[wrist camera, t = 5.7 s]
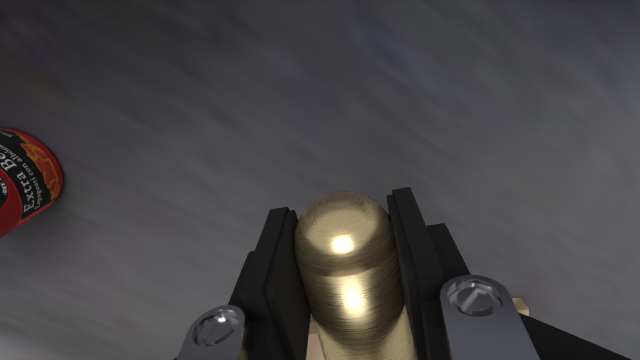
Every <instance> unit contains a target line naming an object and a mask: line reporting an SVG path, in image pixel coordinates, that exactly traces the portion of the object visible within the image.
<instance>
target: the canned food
mask: <svg viewBox="0 0 640 360" xmlns="http://www.w3.org/2000/svg"><path fill="white" fill-rule="evenodd" d="M62 185H63V175H62V171H61V168H60V166H59V164H58V162H57V160H56V158H55V157H54V156H53V154H52V153H51V152H50V151H49V150H48V149H47V148H46V147H45V146H44V145H43V144H42V143H40V142H39V141H38V140H37V139H35V138H33V137H31V136H29V135H28V134H25V133H22V132H20V131H16V130H12V129H0V238H1V237H3V236H4V235H6V234H7V233H9V232H10V231H12V230H13V229H15V228H16V227H18V226H20V225H21V224H23V223H24V222H26V221H27V220H29V219H30V218H32V217H33V216H35V215H37V214H38V213H40V212H41V211H43V210H44V209H46V208H47V207H49V206H50V205H51V204H52V203H53V202H54V201H55V200H56V198H57V197H58V195H59V194H60V192H61V190H62Z"/></svg>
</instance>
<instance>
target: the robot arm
mask: <svg viewBox="0 0 640 360" xmlns="http://www.w3.org/2000/svg"><path fill="white" fill-rule="evenodd" d="M392 192H393V194H392V195H386V196H387V203H388V210H389V217H390V218H391V221H392V225H393V230H394V236H395V242H396V248H397V255H398V261H399V268H400V275H401V282H402V289H403V295H404V302H405V306H406V311H407V315H408V320H409V324H410V329H411V333H412V338H413V343H414V347H415V352H416V356H417V360H631V359H629V358H626V357H624V356H622V355H619V354H617V353H614V352H612V351H610V350H607V349H605V348H603V347H600V346H598V345H596V344H593V343H591V342H588V341H586V340H584V339H581V338H579V337H577V336H574V335H572V334H569V333H567V332H565V331H562V330H560V329H558V328H555V327H553V326H550V325H548V324H546V323H543V322H541V321H539V320H536V319H534V318H531V317H529V316H527V315H524V314H522V313H520V312H518V311H517V309H516V307H515V304H514V302H513V300H512V298H511V296H510V294H509V293H508V291H507V290H506V289H505V287H503V286H502V285H501V284H499V283H498V282H496V281H494V280H492V279H490V278H487V277H483V276H478V275H471V274H470V272H469V270H468V268H467V266H466V264H465V262H464V260H463V258H462V256H461V254H460V252H459V250H458V248H457V246H456V244H455V242H454V240H453V238H452V236H451V235H450V233H449V231H448V229H447V227H446V225H445V224H444V223H443V224H436V225H429V226H426V225H425V223H424V220H423V218H422V215H421V213H420V210H419V208H418V206H417V203H416V201H415V198H414V196H413V193H412V191H411V188H410V187H408V188H401V189H395V190H392ZM297 224H298V219H297V215H296V212H295V211H294V210H292V211H290V210H289V208H288V207H283V208H277V209H271V210H270V212H269V215H268V217H267V220H266V223H265V225H264V228H263V231H262V233H261V236H260V239H259V241H258V244H257V247H256V249H255V251H251V252H249V254H248V256H247V258H246V261H245V263H244V266H243V268H242V271H241V273H240V276H239V278H238V281H237V283H236V286H235V288H234V291H233V293H232V296H231V298H230V301H229V303H228V305H223V306H219V307H216V308H213V309H211V310H209V311H207V312H205V313H204V314H202V315H201V316H200V317H198V318H197V319H196V320H195V321H194V323H193V324H192V325H191V326H190V328H189V330H188V332H187V334H186V336H185V339H184V341H183V344H182V346H181V349H180V352H179V354H178V357H177V358H175V359H174V360H306V356H307V346H308V337H309V327H310V318H311V309H310V306H309V302H308V299H307V295H306V292H305V288H304V285H303V281H302V278H301V274H300V271H299V267H298V264H297V261H296V255H295V250H294V234H295V230H296V227H297Z"/></svg>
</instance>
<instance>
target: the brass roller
mask: <svg viewBox="0 0 640 360" xmlns="http://www.w3.org/2000/svg"><path fill="white" fill-rule="evenodd" d="M294 250H295V255H296V261H297V264H298V267H299V271H300V274H301V278H302V281H303V285H304V288H305V292H306V295H307V299H308V302H309V306H310V309H311V313H312V317H313V320H314V324H315V327H316V331H317V334H318V338H319V341H320V345H321V348H322V352H323V355H324V359H325V360H415V357H414V350H413V344H412V337H411V330H410V324H409V320H408V315H407V311H406V306H405V302H404V295H403V289H402V282H401V275H400V268H399V261H398V255H397V248H396V242H395V236H394V230H393V225H392V221H391V218H390V217H389V215H388V213H387V212H386V211H385V210H384V209H383V208H382V207H381V206H380V204H378V203H377V202H376V201H374V200H373V199H371V198H369V197H368V196H365V195H362V194H359V193H356V192H348V191H342V192H334V193H330V194H327V195H325V196H323V197H321V198H319V199H317V200H316V201H314V202H313V203H312V204H311V205H310V206H309V207H308V208H307V209H306V210H305V211H304V213H303V214H302V216H301V218H300V219H299V221H298V224H297V227H296V230H295V234H294Z"/></svg>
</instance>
